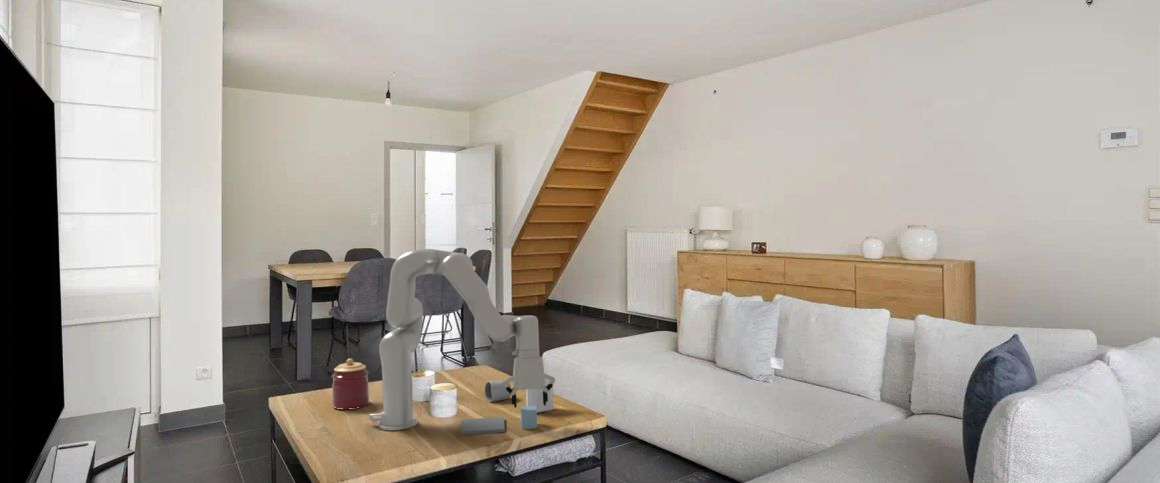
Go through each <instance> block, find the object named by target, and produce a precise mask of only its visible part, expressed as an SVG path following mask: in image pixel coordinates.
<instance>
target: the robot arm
mask: <svg viewBox="0 0 1160 483" xmlns="http://www.w3.org/2000/svg"><path fill="white" fill-rule="evenodd" d="M392 264H393V265H392V267H391V271H390V275H389V276H390V278H389V279H390V280H389V286H388V287H389V288H388V293H387V294H388V295H387V304H386V312H385V315H386V316H385V318H386V321H387V322H388V324H389V325H390V326H392V327H394V330H392V331H390V332H387V334H385V335H384V336H383V337H382V338H381V340H380V342H379V347H378V348H379V349H378V351H379V358H380V363H381V364H380V365H381V376H382V378H381V380H382V408H383V410H382V412H379V413H370V414H369V420H370V421H372V422H378V421H379V422H378V428H379V429H380V430H384V431H402V430H407V429H410V428H413V427H415V426H417V425H418V424H419V420H418V419H419V418H417V417H415V416H414V408H413V406H414V404H413V373H412V372H413V371H412V370H413V369H412V363H411V359H410V355H411V354H412V353H413V352H414V351H416V350H417V349H418V347H419V346H420V342H421V335H422V327H423V318H424V317H423V316H424V311H423V310H424V309H423V305H422V302H421V301H420V300H419V299H418V298H417V297H415V296H416V289H417V288H416V286H417V285H416V279H417V277H419V276H422V275H429V274H433V275H439V276H444V277H445V278H446V279H447V280H448V282H449V283H450V284H451V285H452V287H453V288H454V289H455V290H456V291H457V293H458V294H459V295H460V296H461V297H462V299H463V300H464V302H465V303H466V304H467V307H468V309H469V311H470V312H471V314H472V316H473V317H474V319H475V321H476V322H477V324H478V325H479V326H480V328H481V329H482V330H483V331H484V332H485V333H486V335H487V336H488V337H490V339H491V340H493V341H495V342H498V343H502V342H503V343H504V342H506V341H507V340H509V339H510V338H511V337H515V350H512V351H511V356H515V358H514V361H513V370H512V372H513V373H512V375H511V376H510V377H508V378H506V379H504V380H505V381H503V385H504V387H505V389H506V390H507V391H508V392H509V393H510V396H511V405H513V406H514V408H515V409H516V408H517V392H518V391H523V390H524V391H526V390H528V389H539V388H542V390H543V404H544V405H546V402H548V391H549V390H550V389H551V388H552V387H553V388H554V383H555V382H556V378H555V377H554V376H552V375H551V374H550V375H549V374H547V373H545V368H544V361H543V357H542V356H540V338H539V335H540V334H539V319H538V317H537V316H536V315H530V314H529V315H512V314H511V315H510V314H504V315H503V314H501V313H500V312H499V310H497V308H496V307H495V305H494V304H493V301H492V300H491V297H490V292H489V288H488V286H487V285H486V283H485V282H484V281H483V279H482V278H481V277H480V276H479V275H478V274H477V272H476V271H475V270H474V268H473V260H472V258H470V256H469V255H467V254H466V253H462V252H453V251H448V250H447V251H446V250H441V249H440V250H439V249H433V248H424V249H423V248H422V249H421V248H420V249H414V250H411V251H407V252H405V253H404V254H402V255H400V256H398V257H397V258H396V260H395V261H394V262H393V263H392ZM545 378H546V379H548V380H550V383H549V384H548V385H547V386H545ZM512 382H513V387H511V386H510V387H511V388H510V387H509V386H508V383H509V384H510V383H512Z"/></svg>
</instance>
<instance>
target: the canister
mask: <svg viewBox="0 0 1160 483" xmlns="http://www.w3.org/2000/svg"><path fill="white" fill-rule="evenodd" d="M366 368H367V366H366V365H365V364H363V363H362V362H356V361H354V359H353V358H348V359H346V362H344V363H340V364H338V365H337V366H336V367H334V369H333V370H334V373H333V374H332V375H331V378H332V379H333V380H332V381H333V382H332V384H331V386H332V401H331V402H332V404H331V405H332V406H334V407H336V408H343V409H349V408H357V407H361V408H363V407H362V406H364V407H366V406H368V405H369V404H368V403H369V402H370V396H369V392H370V391H369V380H368V375H369V373H370V372H369V371H368V370H366ZM367 404H368V405H367ZM365 405H366V406H365ZM334 407H333V408H334ZM357 409H358V408H357Z"/></svg>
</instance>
